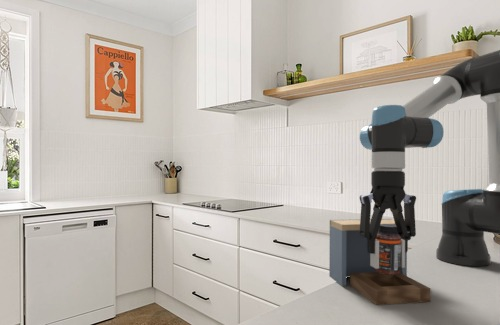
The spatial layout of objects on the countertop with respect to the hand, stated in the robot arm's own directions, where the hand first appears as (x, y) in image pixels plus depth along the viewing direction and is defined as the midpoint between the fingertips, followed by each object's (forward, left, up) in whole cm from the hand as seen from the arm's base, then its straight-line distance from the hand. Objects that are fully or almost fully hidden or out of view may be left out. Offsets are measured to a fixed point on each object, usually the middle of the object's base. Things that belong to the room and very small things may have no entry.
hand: (387, 266), depth 83 cm
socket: (0, 0, -6) cm, 6 cm away
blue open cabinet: (0, -10, -6) cm, 12 cm away
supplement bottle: (0, 0, -2) cm, 2 cm away
